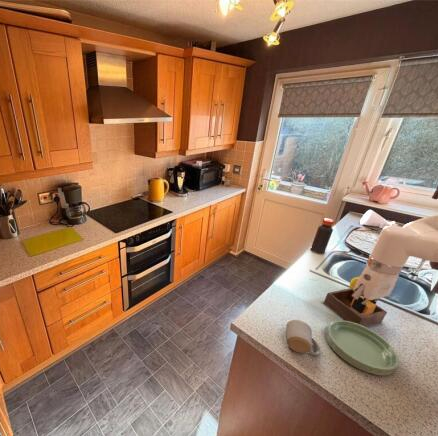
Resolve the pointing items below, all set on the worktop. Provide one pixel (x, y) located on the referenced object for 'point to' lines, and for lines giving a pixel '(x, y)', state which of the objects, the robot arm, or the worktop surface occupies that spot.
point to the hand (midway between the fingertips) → (361, 308)
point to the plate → (362, 347)
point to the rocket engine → (375, 220)
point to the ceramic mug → (300, 337)
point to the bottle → (322, 236)
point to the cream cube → (358, 312)
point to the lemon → (353, 282)
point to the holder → (342, 307)
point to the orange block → (367, 307)
